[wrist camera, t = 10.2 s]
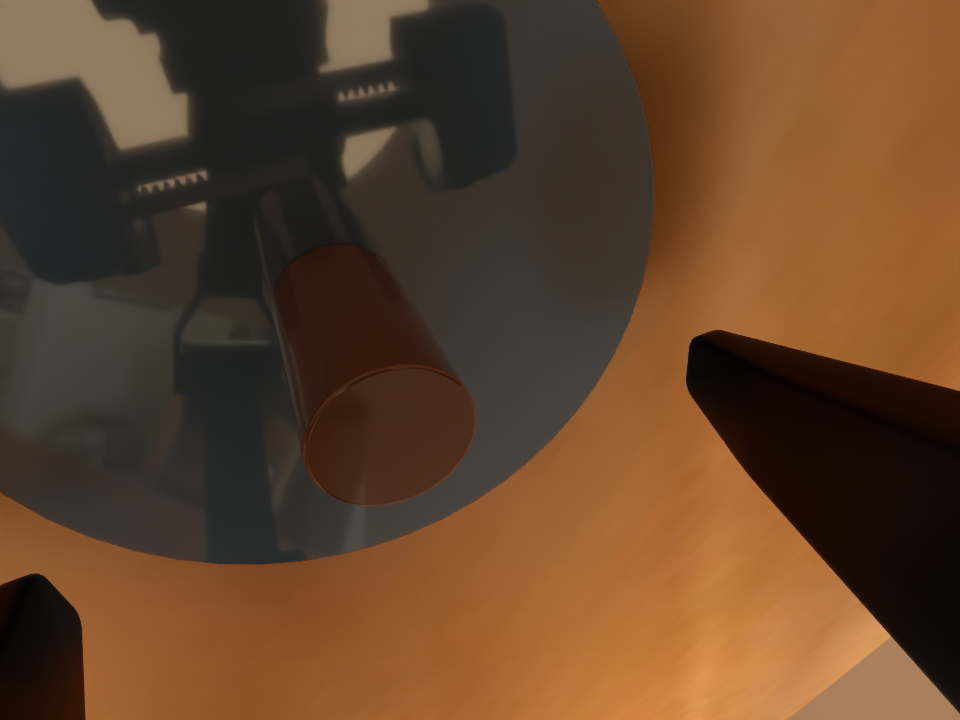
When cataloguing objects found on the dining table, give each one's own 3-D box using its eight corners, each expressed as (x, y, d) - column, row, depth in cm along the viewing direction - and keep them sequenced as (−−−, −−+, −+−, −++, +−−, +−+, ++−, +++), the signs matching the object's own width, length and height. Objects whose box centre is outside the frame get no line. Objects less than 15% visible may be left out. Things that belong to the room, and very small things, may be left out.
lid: (623, 421, 19) (747, 556, 15) (125, 611, 16) (99, 856, 12) (639, -222, 10) (952, -345, 6) (-478, -104, 7) (-1542, -193, 3)
